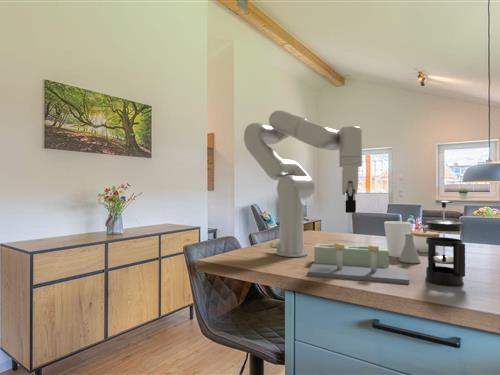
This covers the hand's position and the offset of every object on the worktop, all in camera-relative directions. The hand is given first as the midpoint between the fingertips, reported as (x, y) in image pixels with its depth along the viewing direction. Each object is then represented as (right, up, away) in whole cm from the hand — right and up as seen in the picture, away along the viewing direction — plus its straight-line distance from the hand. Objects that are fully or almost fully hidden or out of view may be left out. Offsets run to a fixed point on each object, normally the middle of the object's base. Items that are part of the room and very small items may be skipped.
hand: (350, 211), depth 115 cm
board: (-2, -18, -13) cm, 23 cm away
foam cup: (+23, -19, +15) cm, 33 cm away
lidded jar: (+38, -19, +24) cm, 49 cm away
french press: (+20, -19, -21) cm, 35 cm away
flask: (+22, -19, +4) cm, 29 cm away
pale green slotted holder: (0, -18, 0) cm, 18 cm away
